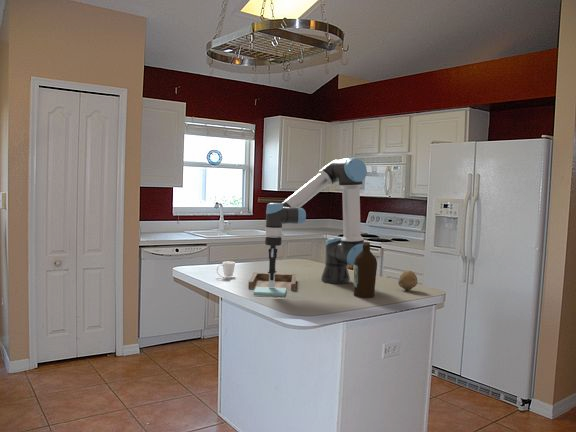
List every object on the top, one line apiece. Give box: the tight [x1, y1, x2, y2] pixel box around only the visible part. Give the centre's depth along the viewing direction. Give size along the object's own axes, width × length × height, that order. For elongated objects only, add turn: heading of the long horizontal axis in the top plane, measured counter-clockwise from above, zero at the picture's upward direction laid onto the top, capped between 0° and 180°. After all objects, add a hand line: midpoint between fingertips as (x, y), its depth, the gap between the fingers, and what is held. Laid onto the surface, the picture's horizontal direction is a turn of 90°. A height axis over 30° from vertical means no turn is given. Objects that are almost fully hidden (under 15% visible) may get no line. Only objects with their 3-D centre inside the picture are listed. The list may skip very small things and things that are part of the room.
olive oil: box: [353, 241, 378, 299], centre depth 239 cm, size 11×11×25 cm
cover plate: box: [253, 287, 287, 299], centre depth 235 cm, size 14×12×2 cm
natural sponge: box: [397, 270, 419, 291], centre depth 256 cm, size 9×9×10 cm
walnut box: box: [247, 272, 297, 292], centre depth 254 cm, size 22×25×4 cm
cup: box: [216, 260, 236, 279], centre depth 271 cm, size 7×10×8 cm
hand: (271, 286), depth 240 cm, fingers closed
